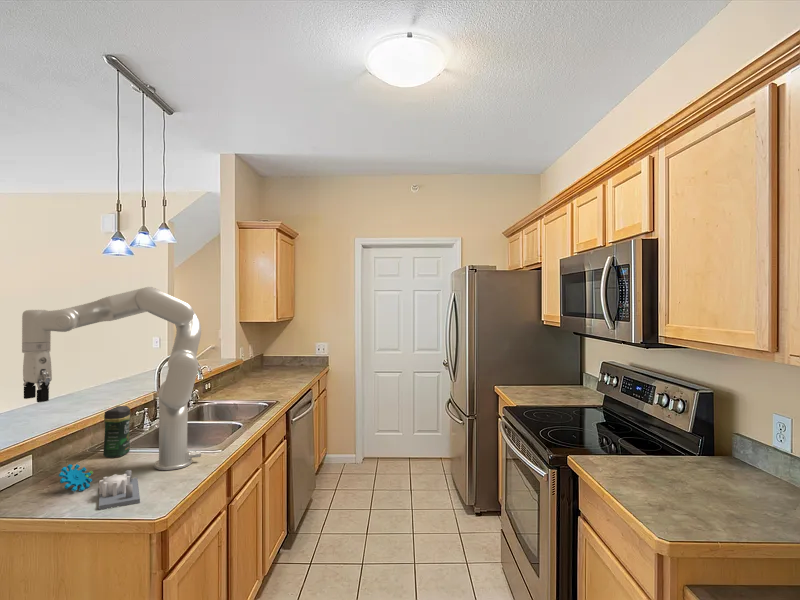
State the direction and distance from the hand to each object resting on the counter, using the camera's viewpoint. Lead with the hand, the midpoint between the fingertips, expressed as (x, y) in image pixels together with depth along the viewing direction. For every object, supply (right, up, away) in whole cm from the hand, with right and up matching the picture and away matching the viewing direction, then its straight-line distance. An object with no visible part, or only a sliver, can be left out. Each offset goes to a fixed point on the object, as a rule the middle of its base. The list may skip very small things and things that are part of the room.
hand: (36, 399), depth 161 cm
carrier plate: (+32, -28, -7) cm, 43 cm away
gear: (+15, -28, -3) cm, 32 cm away
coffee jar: (+8, -28, +32) cm, 43 cm away
